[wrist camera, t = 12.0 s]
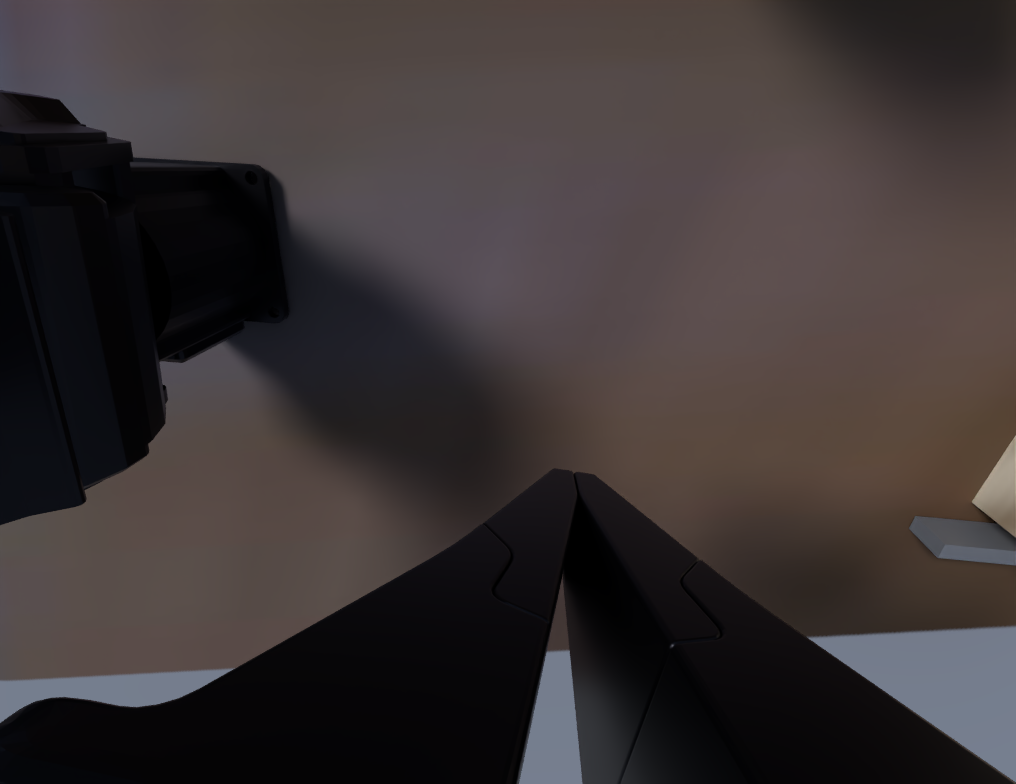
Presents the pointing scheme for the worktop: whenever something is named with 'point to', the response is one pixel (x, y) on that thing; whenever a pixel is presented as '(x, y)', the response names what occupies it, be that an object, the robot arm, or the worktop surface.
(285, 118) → the worktop surface
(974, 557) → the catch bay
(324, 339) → the worktop surface
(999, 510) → the wide block
